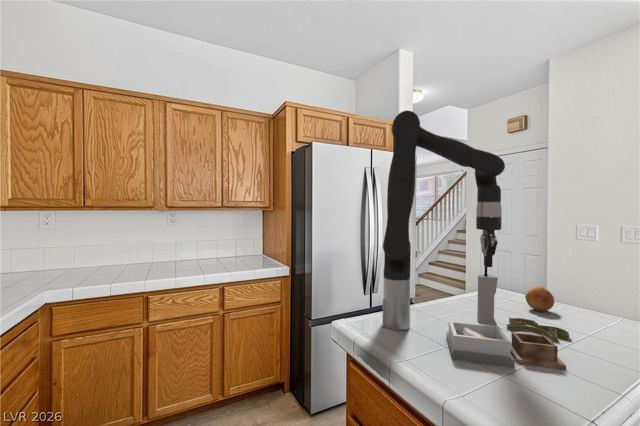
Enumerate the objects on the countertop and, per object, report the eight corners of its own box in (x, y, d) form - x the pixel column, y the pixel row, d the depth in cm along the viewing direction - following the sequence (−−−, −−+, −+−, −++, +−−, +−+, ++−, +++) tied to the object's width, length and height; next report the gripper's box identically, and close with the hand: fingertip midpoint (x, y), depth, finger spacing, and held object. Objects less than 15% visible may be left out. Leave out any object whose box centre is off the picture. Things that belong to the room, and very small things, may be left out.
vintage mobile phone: (497, 327, 100) (498, 253, 100) (480, 326, 101) (481, 252, 101) (492, 323, 104) (493, 251, 104) (477, 322, 105) (478, 251, 105)
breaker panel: (452, 359, 83) (452, 337, 83) (446, 337, 98) (446, 319, 98) (514, 367, 79) (514, 344, 79) (498, 343, 93) (498, 324, 93)
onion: (520, 306, 131) (520, 283, 131) (545, 307, 130) (545, 284, 130) (532, 313, 121) (533, 289, 121) (560, 315, 120) (560, 290, 120)
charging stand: (517, 363, 81) (517, 344, 81) (505, 345, 92) (505, 329, 92) (566, 369, 78) (566, 350, 78) (547, 350, 88) (547, 333, 88)
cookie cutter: (500, 328, 106) (500, 323, 106) (512, 321, 114) (512, 315, 114) (565, 346, 93) (565, 339, 93) (573, 335, 101) (573, 329, 101)
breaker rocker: (464, 336, 87) (467, 331, 87) (462, 331, 91) (464, 326, 91) (489, 348, 85) (492, 343, 85) (486, 342, 89) (488, 338, 89)
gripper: (472, 215, 110) (472, 262, 110) (480, 215, 97) (479, 269, 97) (495, 215, 108) (495, 264, 108) (507, 216, 95) (506, 270, 95)
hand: (488, 266), depth 103 cm, fingers closed on vintage mobile phone, 1 cm apart
